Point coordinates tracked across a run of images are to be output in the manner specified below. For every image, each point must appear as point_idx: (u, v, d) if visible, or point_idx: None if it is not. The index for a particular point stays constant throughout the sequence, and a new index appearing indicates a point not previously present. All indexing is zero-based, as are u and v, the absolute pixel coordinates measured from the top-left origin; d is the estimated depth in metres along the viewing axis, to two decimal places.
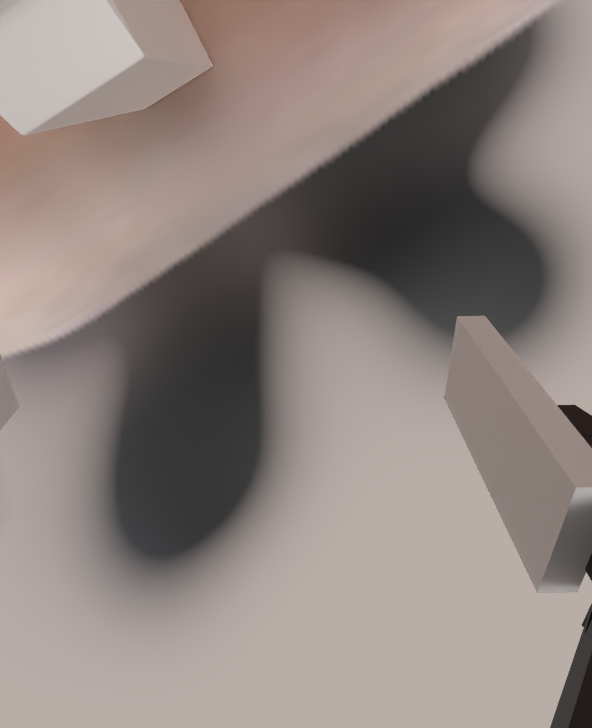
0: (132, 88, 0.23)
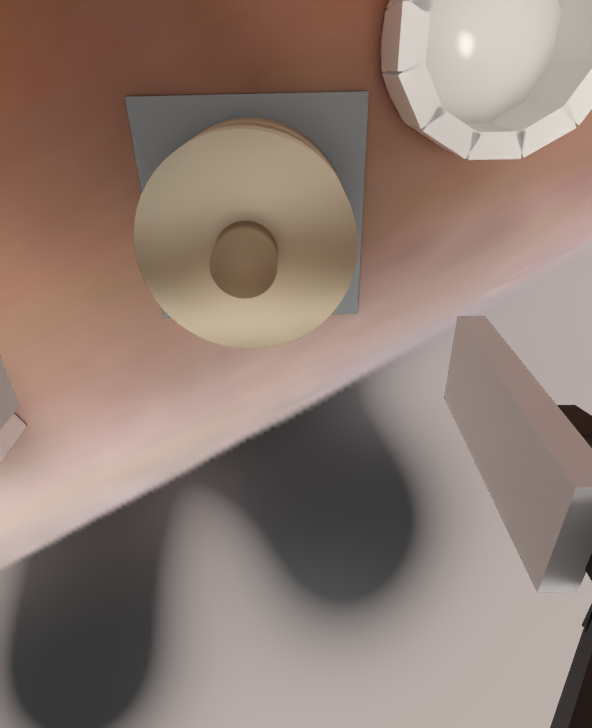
0: None
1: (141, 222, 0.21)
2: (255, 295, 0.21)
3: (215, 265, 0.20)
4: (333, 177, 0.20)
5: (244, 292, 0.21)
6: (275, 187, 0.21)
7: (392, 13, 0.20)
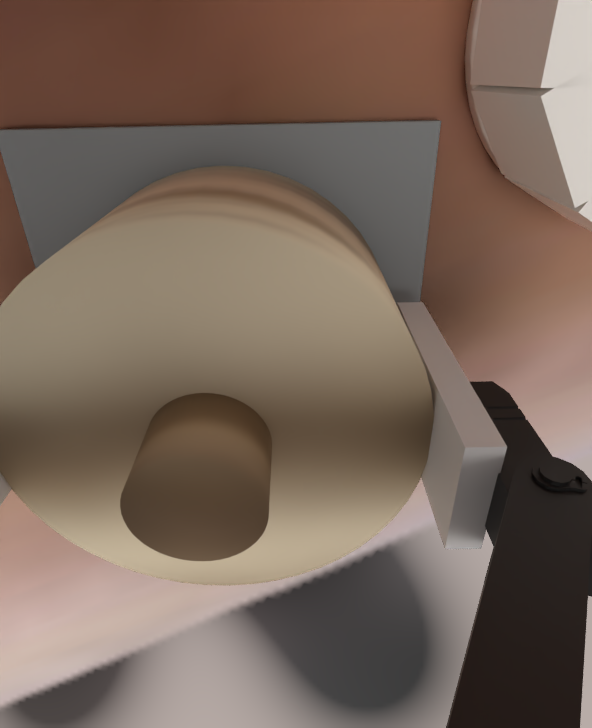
0: None
1: None
2: (223, 556, 0.10)
3: (133, 510, 0.09)
4: (391, 315, 0.09)
5: (200, 552, 0.10)
6: (266, 334, 0.10)
7: None
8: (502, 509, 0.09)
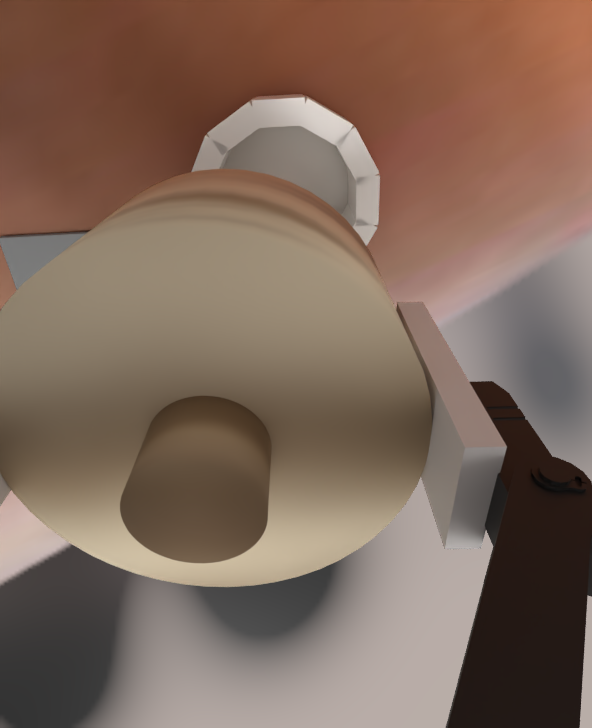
0: None
1: None
2: (223, 558, 0.10)
3: (133, 513, 0.09)
4: (390, 319, 0.10)
5: (199, 554, 0.10)
6: (265, 338, 0.10)
7: None
8: (502, 509, 0.09)
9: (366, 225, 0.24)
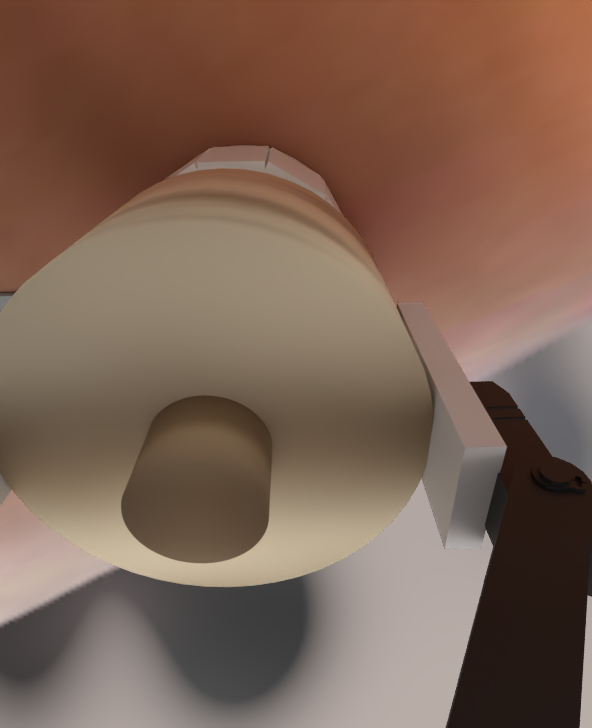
0: None
1: None
2: (224, 558, 0.10)
3: (134, 512, 0.09)
4: (391, 318, 0.10)
5: (200, 554, 0.10)
6: (266, 337, 0.10)
7: None
8: (502, 509, 0.09)
9: None
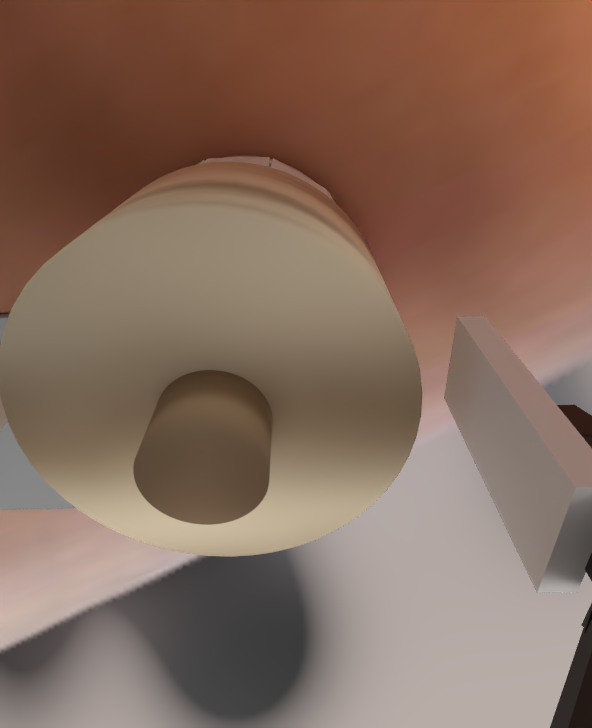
0: None
1: (11, 373, 0.11)
2: (227, 520, 0.11)
3: (145, 475, 0.10)
4: (382, 296, 0.10)
5: (206, 515, 0.11)
6: (267, 314, 0.11)
7: None
8: None
9: None
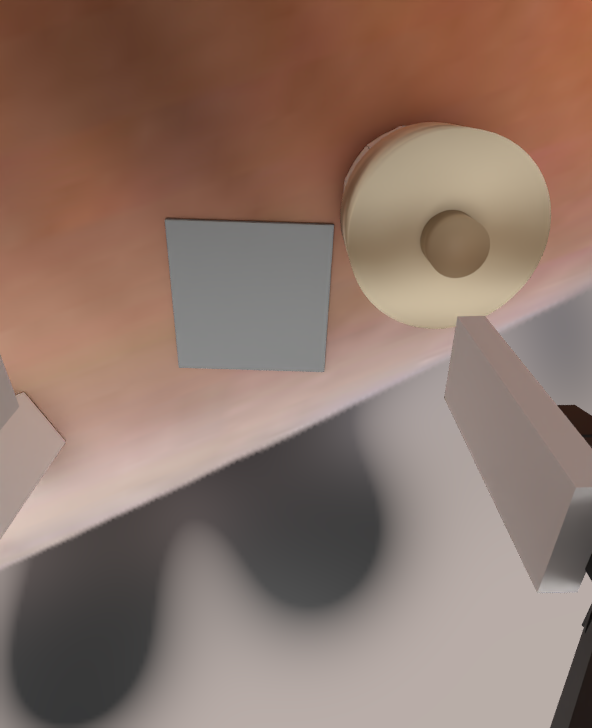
0: None
1: (362, 206, 0.24)
2: (463, 275, 0.24)
3: (435, 246, 0.23)
4: (541, 175, 0.23)
5: (454, 272, 0.23)
6: (487, 181, 0.23)
7: None
8: None
9: None
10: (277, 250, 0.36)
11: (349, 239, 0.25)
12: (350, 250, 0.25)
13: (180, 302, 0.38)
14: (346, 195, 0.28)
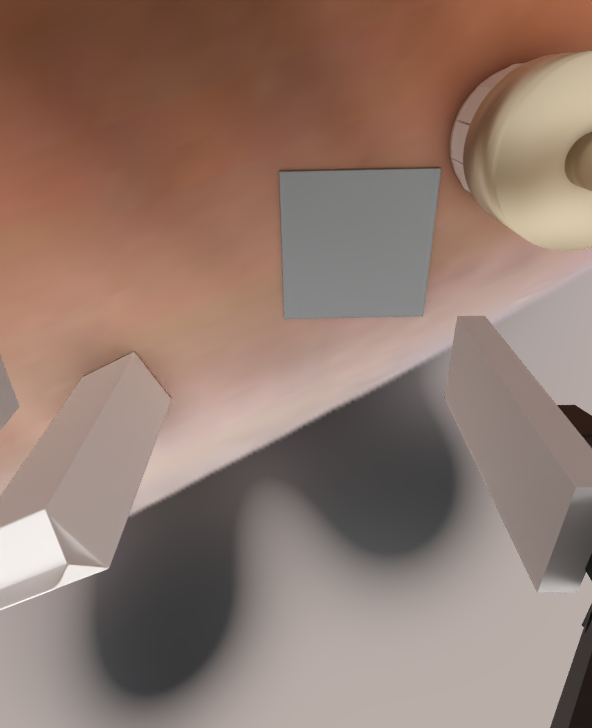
0: None
1: (513, 131, 0.26)
2: None
3: (590, 163, 0.24)
4: None
5: None
6: None
7: (464, 128, 0.33)
8: None
9: None
10: (385, 196, 0.37)
11: (497, 165, 0.26)
12: (497, 176, 0.27)
13: (289, 253, 0.40)
14: (477, 129, 0.29)
